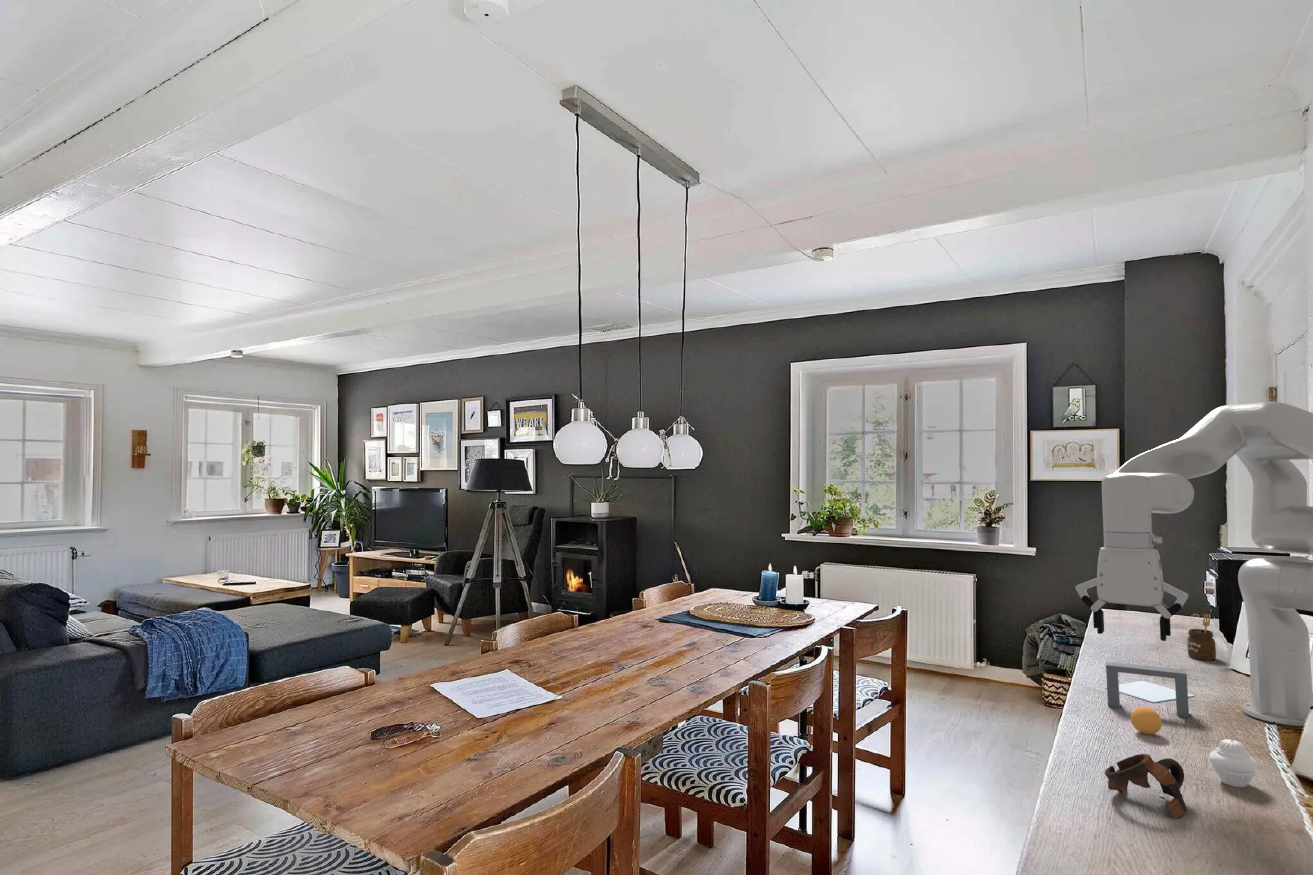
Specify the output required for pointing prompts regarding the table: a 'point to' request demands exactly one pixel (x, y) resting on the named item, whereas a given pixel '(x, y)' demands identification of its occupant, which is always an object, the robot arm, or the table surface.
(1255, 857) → the table surface
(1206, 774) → the table surface
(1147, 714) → the ball
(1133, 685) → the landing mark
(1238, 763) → the muffin
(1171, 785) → the broken clay pot
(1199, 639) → the utensil holder
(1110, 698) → the bridge
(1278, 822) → the table surface
